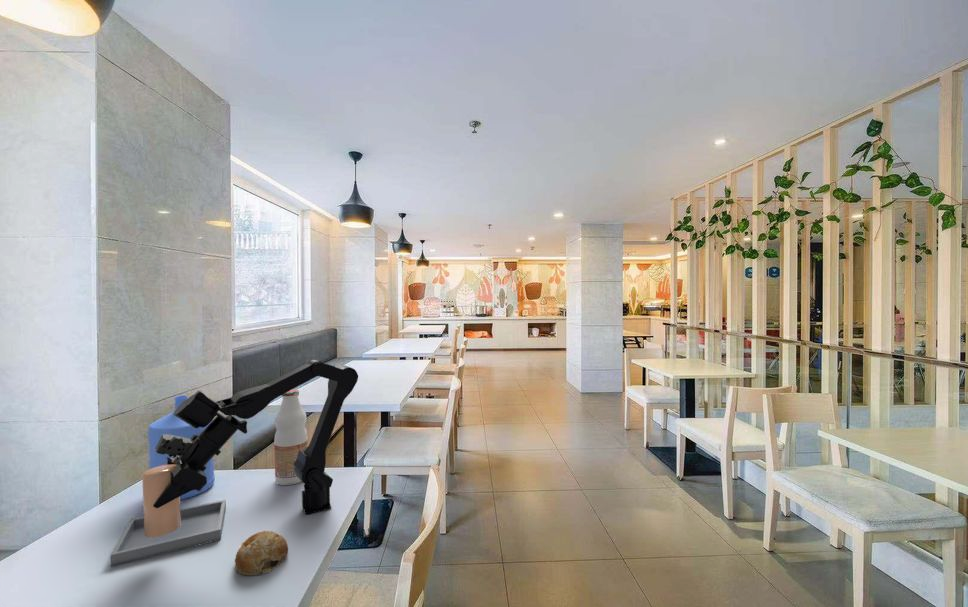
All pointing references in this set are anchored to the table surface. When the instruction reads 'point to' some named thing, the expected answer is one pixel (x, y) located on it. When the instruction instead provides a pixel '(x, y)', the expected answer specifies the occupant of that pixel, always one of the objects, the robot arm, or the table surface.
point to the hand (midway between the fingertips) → (154, 501)
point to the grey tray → (171, 534)
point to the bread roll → (261, 553)
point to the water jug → (176, 428)
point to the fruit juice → (289, 437)
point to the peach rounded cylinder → (166, 515)
